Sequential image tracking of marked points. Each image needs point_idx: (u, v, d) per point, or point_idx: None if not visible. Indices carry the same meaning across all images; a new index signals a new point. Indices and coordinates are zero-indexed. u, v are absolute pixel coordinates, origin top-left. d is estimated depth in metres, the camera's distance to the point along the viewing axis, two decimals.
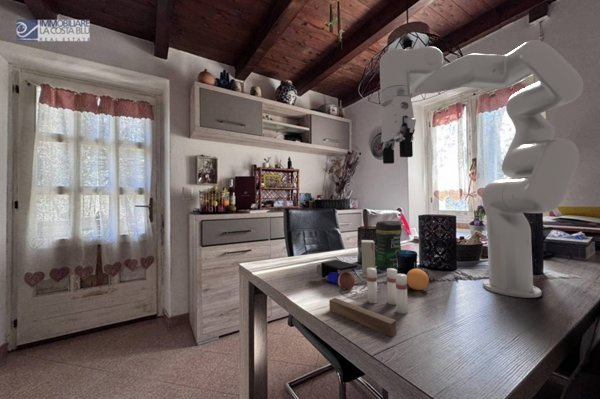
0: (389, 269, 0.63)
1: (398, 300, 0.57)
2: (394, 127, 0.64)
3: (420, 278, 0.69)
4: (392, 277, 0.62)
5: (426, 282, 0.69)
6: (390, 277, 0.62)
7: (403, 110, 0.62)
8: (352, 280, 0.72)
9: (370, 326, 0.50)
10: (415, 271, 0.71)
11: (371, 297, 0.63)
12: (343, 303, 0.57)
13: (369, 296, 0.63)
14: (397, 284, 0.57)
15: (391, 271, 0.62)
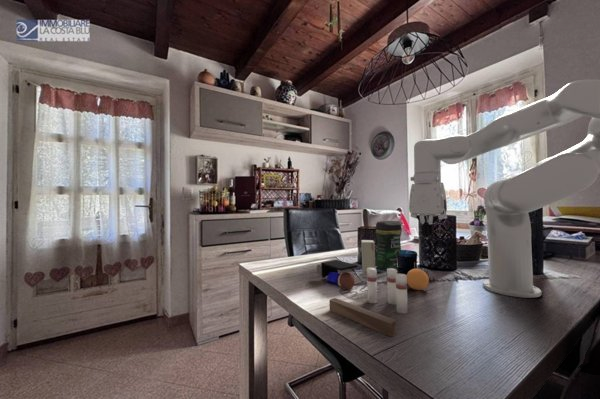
0: (389, 269, 0.63)
1: (398, 300, 0.57)
2: None
3: (420, 278, 0.69)
4: (392, 277, 0.62)
5: (426, 282, 0.69)
6: (390, 277, 0.62)
7: None
8: (352, 280, 0.72)
9: (370, 326, 0.50)
10: (415, 271, 0.71)
11: (371, 297, 0.63)
12: (343, 303, 0.57)
13: (369, 296, 0.63)
14: (397, 284, 0.57)
15: (391, 271, 0.62)
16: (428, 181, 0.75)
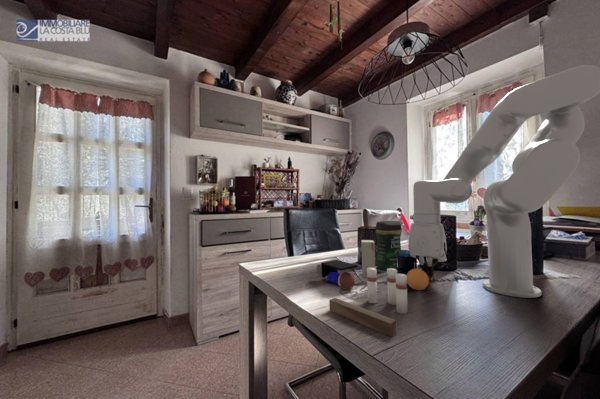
0: (389, 269, 0.63)
1: (398, 300, 0.57)
2: None
3: (420, 278, 0.69)
4: (392, 277, 0.62)
5: (426, 282, 0.69)
6: (390, 277, 0.62)
7: None
8: (352, 280, 0.72)
9: (370, 326, 0.50)
10: (415, 271, 0.71)
11: (371, 297, 0.63)
12: (343, 303, 0.57)
13: (369, 296, 0.63)
14: (397, 284, 0.57)
15: (391, 271, 0.62)
16: (427, 223, 0.74)
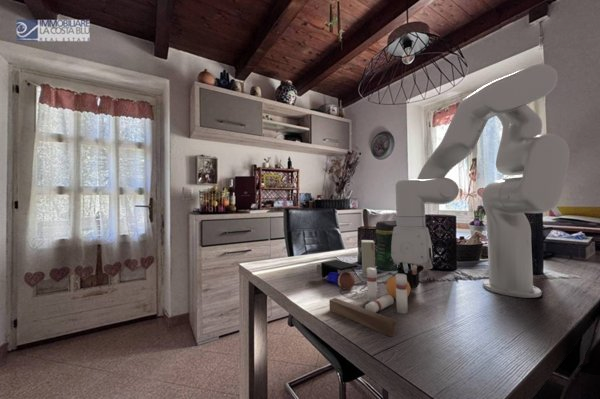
0: None
1: (398, 300, 0.57)
2: None
3: None
4: (376, 311, 0.57)
5: (409, 288, 0.63)
6: None
7: None
8: (352, 280, 0.72)
9: (370, 326, 0.50)
10: None
11: (371, 297, 0.63)
12: (343, 303, 0.57)
13: (369, 296, 0.63)
14: (397, 284, 0.57)
15: None
16: (411, 227, 0.67)
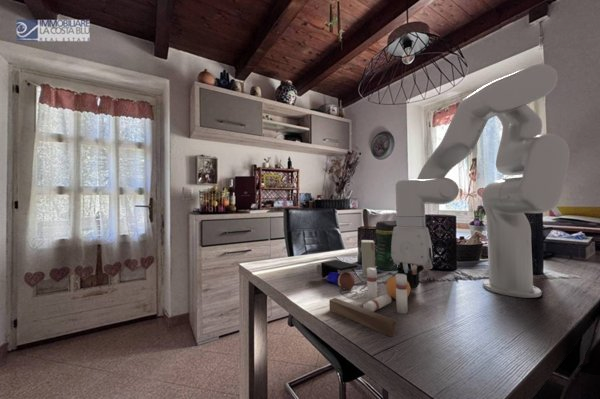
0: None
1: (398, 300, 0.57)
2: None
3: None
4: (375, 309, 0.57)
5: (409, 288, 0.63)
6: (374, 310, 0.57)
7: None
8: (352, 280, 0.72)
9: (370, 326, 0.50)
10: None
11: (371, 297, 0.63)
12: (343, 303, 0.57)
13: (369, 296, 0.63)
14: (397, 284, 0.57)
15: None
16: (411, 227, 0.67)
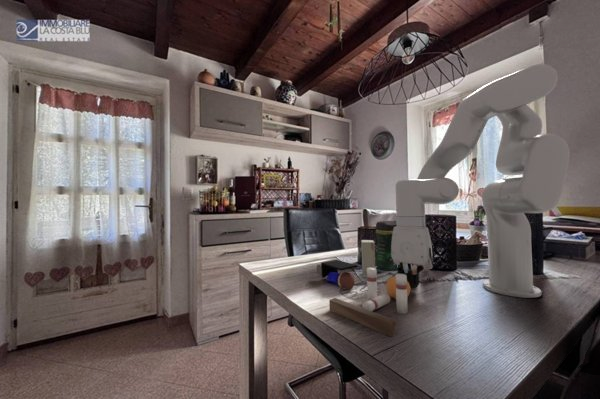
0: None
1: (398, 300, 0.57)
2: None
3: None
4: (374, 307, 0.57)
5: (409, 288, 0.63)
6: (374, 309, 0.58)
7: None
8: (352, 280, 0.72)
9: (370, 326, 0.50)
10: None
11: (371, 297, 0.63)
12: (343, 303, 0.57)
13: (369, 296, 0.63)
14: (397, 284, 0.57)
15: (370, 310, 0.56)
16: (411, 227, 0.67)
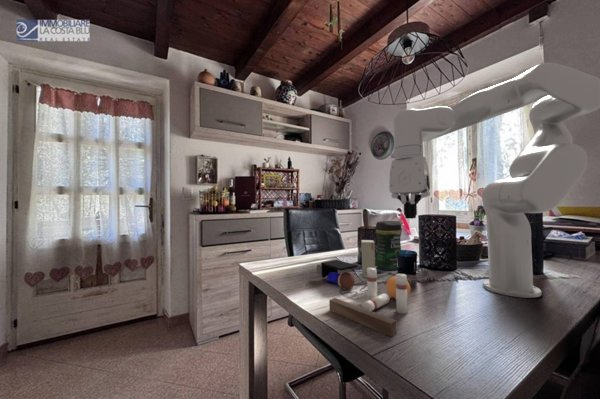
0: None
1: (398, 300, 0.57)
2: None
3: None
4: (373, 306, 0.58)
5: (409, 288, 0.63)
6: (373, 308, 0.58)
7: None
8: (352, 280, 0.72)
9: (370, 326, 0.50)
10: None
11: (371, 297, 0.63)
12: (343, 303, 0.57)
13: (369, 296, 0.63)
14: (397, 284, 0.57)
15: (370, 309, 0.57)
16: (408, 155, 0.67)
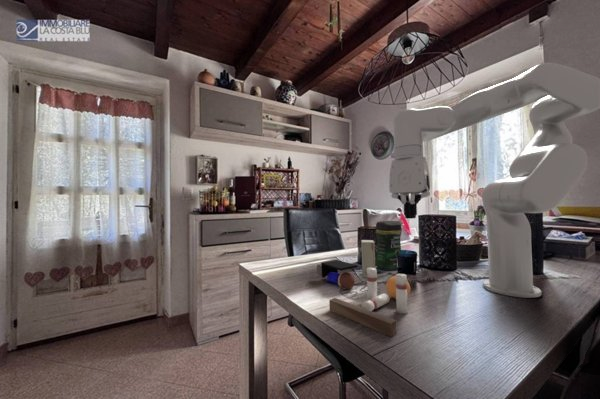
0: None
1: (398, 300, 0.57)
2: None
3: None
4: (373, 306, 0.58)
5: (409, 288, 0.63)
6: (373, 308, 0.58)
7: None
8: (352, 280, 0.72)
9: (370, 326, 0.50)
10: None
11: (371, 297, 0.63)
12: (343, 303, 0.57)
13: (369, 296, 0.63)
14: (397, 284, 0.57)
15: (370, 309, 0.57)
16: (408, 155, 0.67)
